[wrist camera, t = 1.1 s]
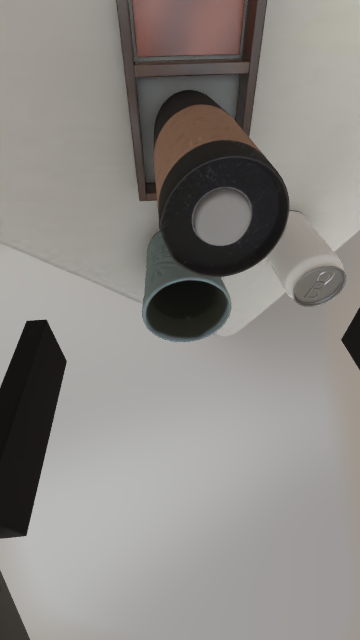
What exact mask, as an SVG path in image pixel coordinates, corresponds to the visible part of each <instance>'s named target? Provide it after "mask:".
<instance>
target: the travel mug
mask: <svg viewBox="0 0 360 640" xmlns="http://www.w3.org/2000/svg"><path fill="white" fill-rule="evenodd" d="M154 171H155V181H156V192H157V202H158V212H159V228H160V231H161V234H162V237H163V240H164V242H165V244H166V246H167V248H168V251H169V253H170V256H171V258H172V259H173V260H174V261H175V262H176V263H177V264H178V265H180V266H181V267H183V268H184V269H186V270H188V271H190V272H192V273H195V274H198V275H202V276H208V277H223V276H229V275H234V274H237V273H240V272H243V271H245V270H247V269H249V268H251V267H253V266H254V265H256V264H257V263H259V262H260V261H261V260H263V259H264V258H265V257H266V256H267V255H268V254H269V253H270V252H271V251H272V250H273V249H274V247H275V246H276V245H277V243H278V242H279V240H280V238H281V237H282V235H283V233H284V230H285V228H286V225H287V221H288V216H289V196H288V192H287V189H286V186H285V184H284V182H283V179H282V178H281V176H280V175H279V173H278V172H277V170H276V169H275V168H274V167H273V166H272V164H271V163H270V162H269V161H268V160H267V159H266V157H265V156H264V155H263V154H262V153H261V151H260V150H259V149H258V148H257V147H256V145H255V144H254V143H253V142H252V141H251V139H250V138H249V137H248V136H247V135H246V133H245V132H244V131H243V130H242V129H241V127H240V126H239V125H238V124H237V123H236V121H235V120H234V119H233V118H232V117H231V116H230V115H229V114H228V113H227V112H226V111H225V110H223V109H222V108H221V107H220V106H219V105H218V104H217V103H215V102H214V101H213V100H212V99H211V98H209V97H208V96H207V95H205V94H203V93H201V92H198V91H194V90H186V91H181V92H178V93H176V94H174V95H173V96H171V97H170V98H169V99H168V100H167V101H166V102H165V103H164V104H163V105H162V107H161V109H160V111H159V113H158V115H157V118H156V122H155V129H154Z"/></svg>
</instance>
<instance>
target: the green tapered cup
mask: <svg viewBox="0 0 360 640" xmlns="http://www.w3.org/2000/svg"><path fill="white" fill-rule="evenodd" d="M146 268H147V271H146V278H145V294H144V298H143V309H142V317H143V321H144V323H145V325H146V327H147V328H148V329H149V330H150V331H151V332H152V333H153V334H154V335H156V336H158V337H160V338H162V339H165V340H169V341H174V342H190V341H195V340H200V339H202V338H205V337H208V336H210V335H211V334H213V333H215V332H216V331H217V330H219V329H220V328H221V327H222V326H223V325H224V324H225V322H226V320H227V319H228V317H229V315H230V312H231V300H230V296H229V294H228V292H227V289H226V287H225V285H224V283H223V281H222V280H221V277H208V276H202V275H198V274H195V273H192V272H190V271H188V270H186V269H184V268H183V267H181V266H180V265H178V264H177V263H176V262H175V261H174V260H173V259H172V258H171V256H170V253H169V251H168V248H167V246H166V244H165V242H164V240H163V237H162V234H161V231H160V232H159V233H157V234H156V235H155V236H154V237H153V239H152V240H151V242H150V244H149V246H148V251H147V266H146Z"/></svg>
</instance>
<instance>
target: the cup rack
mask: <svg viewBox="0 0 360 640" xmlns="http://www.w3.org/2000/svg"><path fill="white" fill-rule="evenodd" d="M244 1H245V0H132V4H133V15H134V26H135V37H136V48H137V57H156V56H190V55H224V54H240V43H241V33H242V22H243V12H244ZM116 2H117V10H118V19H119V27H120V36H121V45H122V53H123V62H124V70H125V79H126V88H127V96H128V105H129V114H130V122H131V131H132V139H133V148H134V157H135V165H136V174H137V183H138V191H139V200H140V201H153V200H157V192H156V183H146V177H145V167H144V157H143V146H142V136H141V125H140V115H139V104H138V94H137V84H136V77H163V76H193V75H224V74H240V84H239V94H238V104H237V113H236V123H237V124H238V125H239V126H240V127H241V129H242V130H243V131H244V132H245V133H246V135H247V136H248V137H249V134H250V126H251V119H252V111H253V104H254V96H255V88H256V81H257V73H258V66H259V58H260V51H261V43H262V36H263V28H264V21H265V13H266V6H267V0H248V4H247V14H246V24H245V34H244V44H243V54H242V58H234V59H201V60H168V61H135V62H134V52H133V42H132V32H131V21H130V11H129V0H116Z"/></svg>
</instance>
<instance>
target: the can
mask: <svg viewBox="0 0 360 640" xmlns="http://www.w3.org/2000/svg"><path fill="white" fill-rule="evenodd" d="M267 257H268V259H269V261H270V263H271V265H272V267H273V269H274V271H275V273H276V275H277V277H278V278H279V280H280V282H281V284H282V286H283V288H284V290H285V291H286V293H287V294H288V295H289V296H290V297H291V298H293V299H294V300H295V302H296V303H298V304H299V305H301V306H305V307H306V306H307V307H313V306H318V305H322V304H324V303H326V302H328V301H330V300H332V299H333V298H334V297H336V296H337V295H338V294H339V293H340V291H341V290H342V289H343V287H344V285H345V283H346V275H345V273H344V271H343V265H342V262H341V261H340V259H339V258H338V257H337V255H336V254H335V253H334V251H333V250H332V249H331V248H330V247H329V245H328V244H327V243H326V242H325V240H324V239H323V238H322V237H321V235H320V234H319V233H318V232H317V231H316V229H315V228H314V227H313V226H312V225H311V223H310V222H309V221H308V220H307V219H306V217H305V216H304V215H303V214H301V213H299V212H296V211H289V216H288V221H287V225H286V228H285V230H284V233H283V235H282V237H281V238H280V240H279V242H278V243H277V245H276V246H275V247H274V249H273V250H272V251H271V252H270V253H269V254H268V255H267Z"/></svg>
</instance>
